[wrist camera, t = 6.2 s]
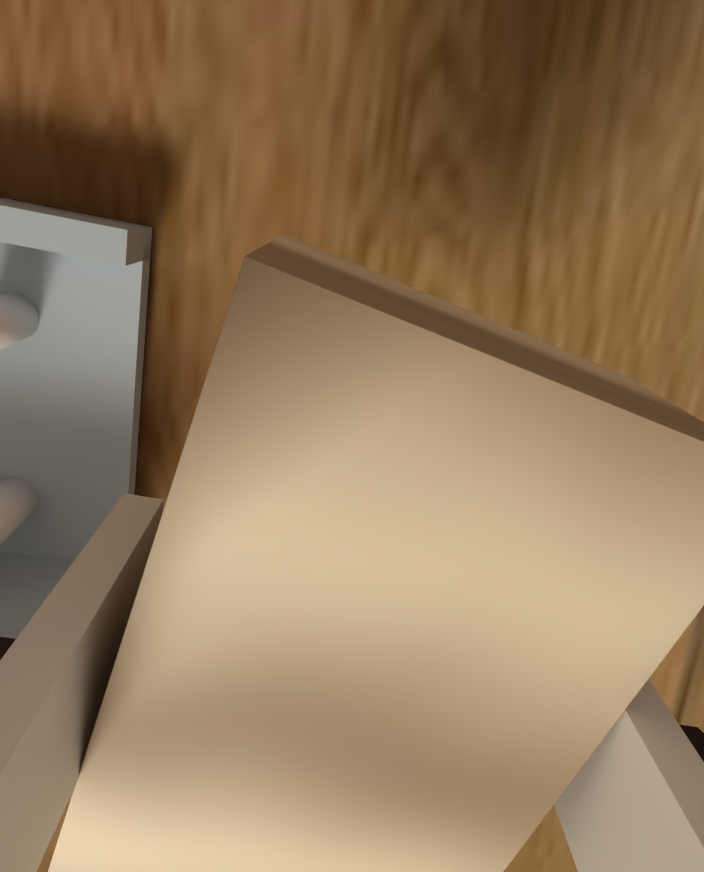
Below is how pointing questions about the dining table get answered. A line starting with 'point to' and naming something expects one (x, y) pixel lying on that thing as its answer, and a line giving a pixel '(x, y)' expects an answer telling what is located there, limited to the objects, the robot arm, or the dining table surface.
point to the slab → (386, 589)
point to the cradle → (64, 389)
